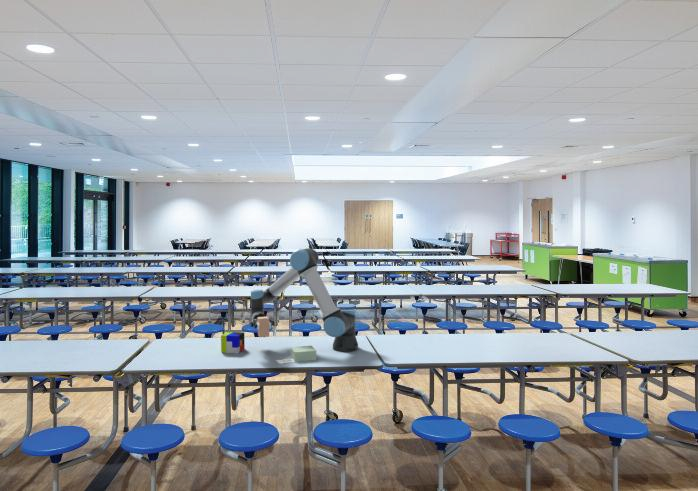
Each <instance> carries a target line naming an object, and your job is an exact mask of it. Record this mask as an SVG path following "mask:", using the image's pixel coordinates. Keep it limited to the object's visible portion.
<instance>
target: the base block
mask: <svg viewBox="0 0 698 491" xmlns="http://www.w3.org/2000/svg"><path fill="white" fill-rule="evenodd" d="M290 357H291V358H293V360H294V361H298V362H304V361H305V362H306V361H316V360H317V350H316V348H314V346H313V345H303V346H302V345H300V346H290Z"/></svg>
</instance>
